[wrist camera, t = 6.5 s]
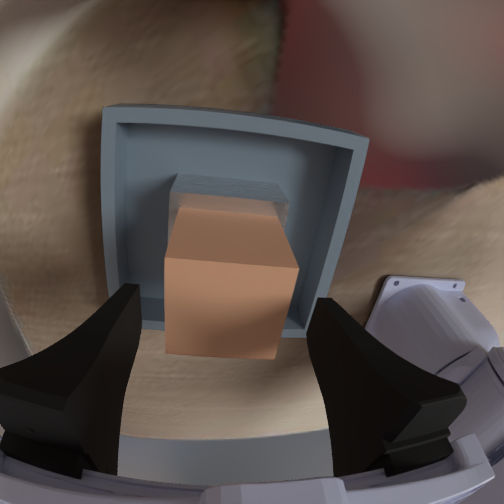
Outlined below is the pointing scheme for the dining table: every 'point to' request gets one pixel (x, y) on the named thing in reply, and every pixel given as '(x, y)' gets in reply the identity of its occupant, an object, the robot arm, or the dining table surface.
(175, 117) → the tote
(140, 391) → the dining table surface
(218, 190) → the steel block
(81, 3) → the dining table surface
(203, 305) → the carton
